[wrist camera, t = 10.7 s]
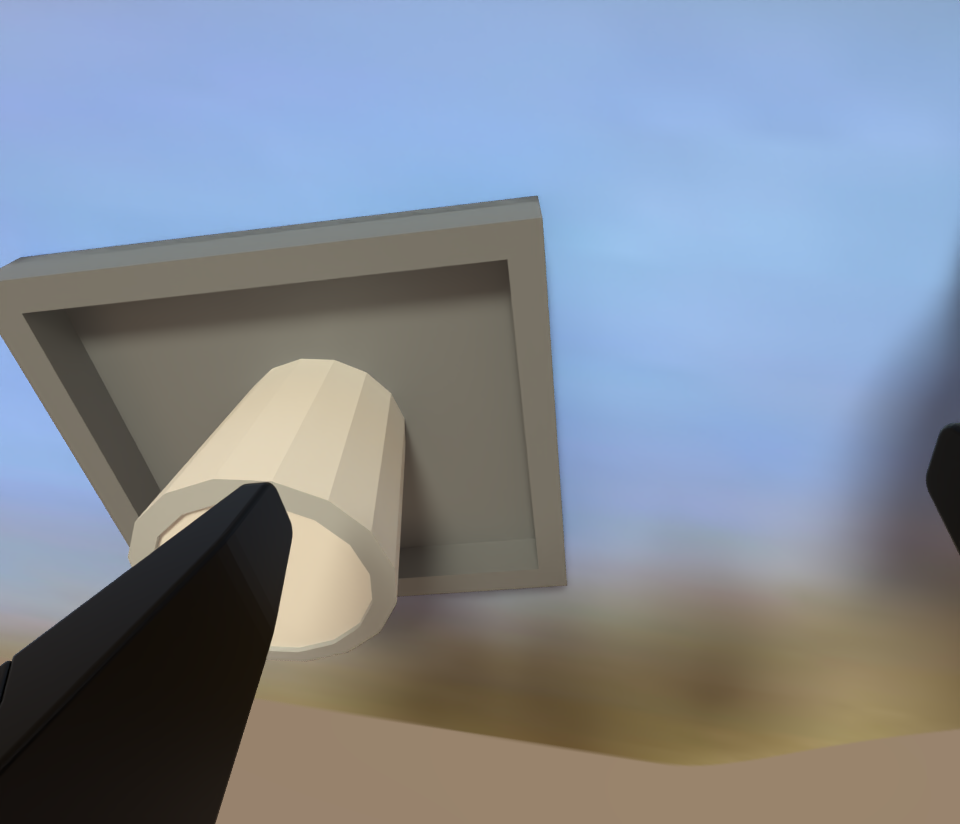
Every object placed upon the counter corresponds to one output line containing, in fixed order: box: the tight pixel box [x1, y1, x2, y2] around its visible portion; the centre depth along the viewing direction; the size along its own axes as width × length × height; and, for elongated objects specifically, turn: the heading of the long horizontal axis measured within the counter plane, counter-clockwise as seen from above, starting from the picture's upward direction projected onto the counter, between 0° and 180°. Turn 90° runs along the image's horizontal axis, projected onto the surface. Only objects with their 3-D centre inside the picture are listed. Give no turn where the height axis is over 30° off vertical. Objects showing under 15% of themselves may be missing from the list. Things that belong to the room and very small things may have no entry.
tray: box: [0, 196, 567, 597], centre depth 21 cm, size 16×14×2 cm
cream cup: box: [128, 359, 406, 661], centre depth 19 cm, size 7×7×7 cm
